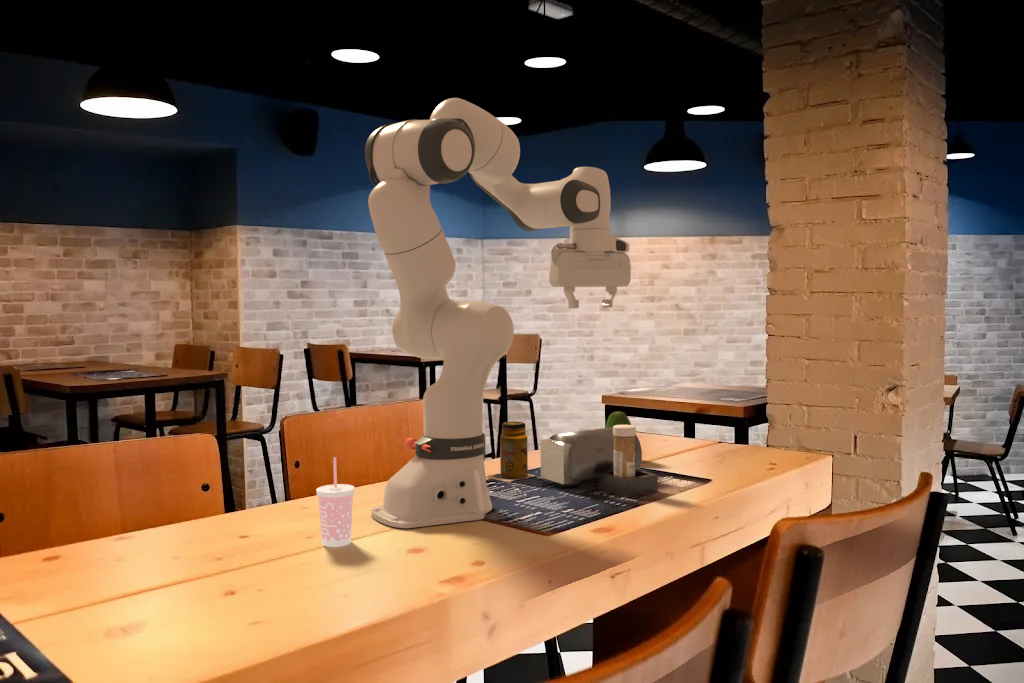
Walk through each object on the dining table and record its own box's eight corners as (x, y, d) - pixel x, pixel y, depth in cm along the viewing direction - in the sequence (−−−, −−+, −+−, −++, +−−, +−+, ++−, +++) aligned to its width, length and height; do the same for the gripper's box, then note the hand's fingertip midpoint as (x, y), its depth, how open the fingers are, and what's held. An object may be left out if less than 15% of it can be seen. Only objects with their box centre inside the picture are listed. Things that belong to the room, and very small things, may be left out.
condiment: (536, 476, 181) (535, 422, 181) (508, 482, 175) (507, 427, 175) (513, 471, 187) (512, 419, 186) (485, 477, 181) (484, 423, 180)
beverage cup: (310, 542, 134) (308, 457, 133) (344, 535, 138) (342, 452, 137) (328, 550, 129) (326, 463, 128) (362, 543, 133) (360, 457, 132)
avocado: (598, 458, 200) (598, 409, 199) (628, 456, 202) (628, 408, 201) (611, 465, 192) (611, 414, 192) (642, 462, 194) (642, 412, 194)
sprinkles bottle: (637, 493, 164) (637, 427, 163) (615, 494, 164) (615, 427, 163) (633, 488, 169) (633, 423, 168) (611, 488, 168) (611, 424, 168)
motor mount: (599, 502, 157) (598, 446, 157) (536, 483, 174) (536, 431, 174) (684, 486, 170) (684, 433, 169) (618, 469, 187) (618, 421, 187)
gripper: (560, 241, 168) (561, 309, 169) (635, 244, 180) (635, 307, 181) (542, 243, 174) (543, 308, 174) (616, 246, 185) (616, 307, 186)
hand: (590, 308), depth 178 cm, fingers open, 8 cm apart
